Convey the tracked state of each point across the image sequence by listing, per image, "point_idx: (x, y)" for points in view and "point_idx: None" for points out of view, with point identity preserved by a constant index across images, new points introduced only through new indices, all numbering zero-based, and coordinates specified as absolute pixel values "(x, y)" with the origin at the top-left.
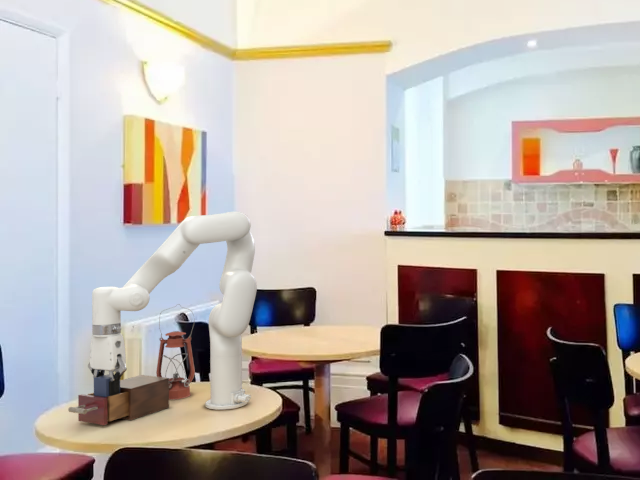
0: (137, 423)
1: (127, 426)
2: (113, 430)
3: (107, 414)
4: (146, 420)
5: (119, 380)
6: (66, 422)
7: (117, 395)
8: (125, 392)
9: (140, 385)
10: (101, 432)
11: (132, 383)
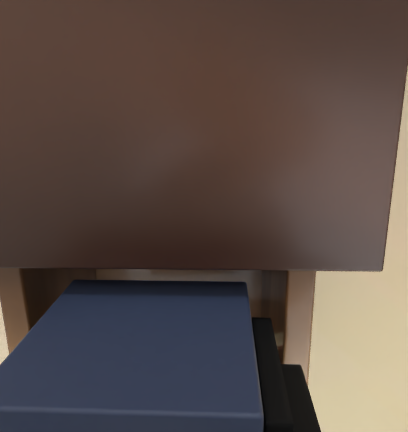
0: (392, 219)
1: (378, 282)
2: (358, 357)
3: (187, 278)
4: (401, 150)
5: (256, 374)
6: (2, 351)
7: (307, 362)
8: (312, 276)
9: (384, 100)
10: (324, 398)
11: (182, 58)
